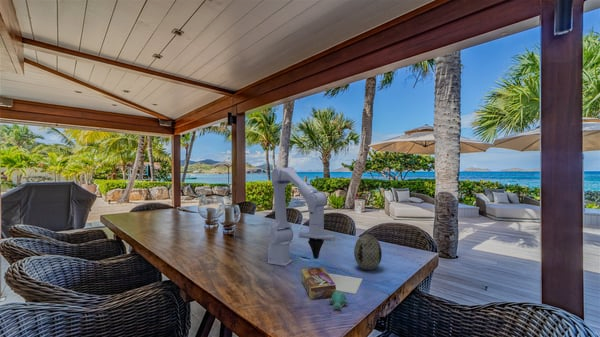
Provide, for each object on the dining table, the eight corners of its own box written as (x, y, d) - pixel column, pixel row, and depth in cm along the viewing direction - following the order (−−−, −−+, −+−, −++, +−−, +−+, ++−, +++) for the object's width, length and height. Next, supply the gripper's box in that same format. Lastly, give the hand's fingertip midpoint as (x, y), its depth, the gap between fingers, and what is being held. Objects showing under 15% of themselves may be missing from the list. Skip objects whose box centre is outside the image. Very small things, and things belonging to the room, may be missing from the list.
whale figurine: (348, 301, 87) (348, 290, 87) (346, 313, 80) (346, 300, 80) (330, 299, 89) (330, 288, 89) (327, 310, 82) (327, 298, 82)
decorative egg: (348, 269, 116) (349, 234, 117) (362, 262, 125) (362, 230, 125) (373, 276, 108) (373, 239, 109) (386, 268, 117) (386, 234, 117)
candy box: (301, 280, 103) (310, 299, 88) (301, 269, 103) (310, 286, 88) (323, 278, 105) (336, 296, 90) (323, 267, 105) (336, 284, 90)
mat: (313, 286, 98) (313, 285, 98) (324, 273, 111) (324, 272, 111) (355, 294, 92) (355, 293, 92) (362, 279, 105) (362, 278, 105)
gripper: (337, 223, 106) (336, 257, 106) (303, 220, 112) (302, 252, 111) (332, 226, 100) (331, 263, 99) (296, 223, 105) (296, 257, 105)
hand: (316, 258), depth 105 cm, fingers closed
